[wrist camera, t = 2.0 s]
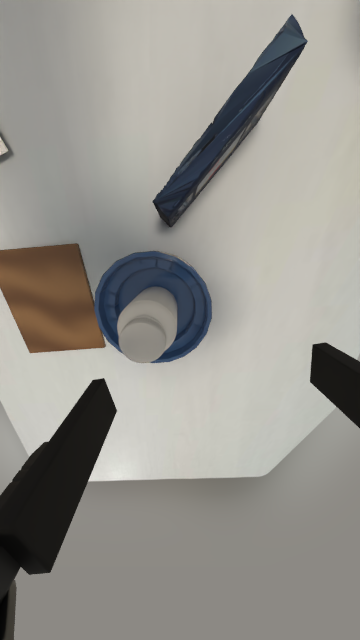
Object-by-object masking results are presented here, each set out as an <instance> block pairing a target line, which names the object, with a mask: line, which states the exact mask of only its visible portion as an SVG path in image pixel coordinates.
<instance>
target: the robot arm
mask: <svg viewBox="0 0 360 640" xmlns="http://www.w3.org/2000/svg"><path fill="white" fill-rule="evenodd" d="M310 382H311V383H312V384H313V385H314V386H315V387H316V388H317V389H318V390H319V391H320V392H321V393H323V394H324V395H325V396H326V397H327V398H328V399H329V400H330V401H331V402H332V403H333V404H334V405H335V406H336V407H338V408H339V409H340V410H341V411H342V412H343V413H344V414H345V415H346V416H347V417H348V418H349V419H350V420H351V421H353V422H354V423H355V424H356V425H357V426H358V427H359V428H360V362H359V361H358V360H356V359H354V358H352V357H351V356H349V355H347V354H345V353H343V352H342V351H340V350H338V349H336V348H335V347H333V346H331V345H329V344H328V343H320V344H313V347H312V361H311V375H310ZM116 412H117V410H116V407H115V405H114V402H113V400H112V397H111V394H110V392H109V389H108V387H107V384H106V382H105V379H104V378H103V379H97V380H93V381H92V382H91V383H90V385H89V386H88V388H87V389H86V390H85V392H84V393H83V395H82V396H81V397H80V399H79V400H78V402H77V403H76V404H75V406H74V407H73V409H72V410H71V411H70V413H69V414H68V416H67V417H66V418H65V420H64V421H63V423H62V424H61V425H60V427H59V428H58V429H57V431H56V432H55V434H54V435H53V436H52V438H51V439H50V441H49V442H44V443H43V444H42V445H41V446H40V447H39V448H38V449H37V450H36V451H35V452H34V453H32V455H31V456H30V457H29V459H28V460H27V461H26V462H25V464H24V465H23V466H22V469H21V470H20V471H19V472H18V473H17V474H16V476H15V477H14V478H13V481H12V482H11V483H10V484H9V485H8V486H7V488H6V489H5V490H4V492H3V493H2V494H1V495H0V640H14V624H15V606H16V605H15V604H16V583H15V580H14V578H15V576H16V575H17V573H18V571H19V569H20V567H22V568H23V569H24V570H25V571H26V572H27V573H28V574H29V575H31V574H41V573H50V572H51V570H52V567H53V565H54V562H55V560H56V557H57V555H58V553H59V550H60V548H61V545H62V543H63V540H64V538H65V536H66V533H67V531H68V528H69V526H70V523H71V521H72V518H73V516H74V514H75V511H76V509H77V506H78V504H79V502H80V499H81V497H82V494H83V492H84V489H85V487H86V485H87V482H88V480H89V477H90V475H91V473H92V470H93V468H94V465H95V463H96V460H97V458H98V456H99V453H100V451H101V448H102V446H103V443H104V441H105V439H106V436H107V434H108V431H109V429H110V427H111V424H112V422H113V419H114V417H115V414H116Z"/></svg>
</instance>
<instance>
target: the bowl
mask: <svg viewBox="0 0 360 640" xmlns="http://www.w3.org/2000/svg"><path fill="white" fill-rule="evenodd" d="M149 287H162V288H164V289H166V290H168V291H169V292H170V293H171V294H172V295H173V296H174V298H175V300H176V302H177V333H176V337H175V340H174V341H173V343H172V344H171V346H170V347H169V348H168V349H167V350H165V351H164V352H163V354H162V355H161V356H160V357H159V358H158V359H156V360H155V361H152V362H149V363H162V362H170V361H173V360H176V359H179V358H181V357H184V356H185V355H187V354H188V353H189V352H191V351H192V350H194V349H195V348H196V347H197V346H198V345H199V343H200V342H201V341H202V339H203V338H204V337H205V335H206V334H207V331H208V328H209V325H210V322H211V319H212V305H211V298H210V295H209V292H208V289H207V287H206V284H205V282H204V281H203V280H202V278H201V277H200V276H199V275H198V273H197V272H196V271H195V270H194V268H193V267H192V266H191V265H190V264H188V263H187V262H185V261H183V260H182V259H180V258H179V257H177V256H175V255H171V254H167V253H163V252H159V251H150V252H138V253H133V254H131V255H129V256H127V257H124V258H122V259H120V260H118V261H116V262H115V263H114V264H113V265H112V266H111V267H110V268H109V269H108V270H107V271H106V272H105V273H104V274H103V276H102V278H101V280H100V283H99V285H98V287H97V289H96V292H95V306H94V311H95V314H96V318H97V322H98V326H99V328H100V329H101V331H102V332H103V334H104V336H105V337H106V339H107V340H108V342H110V343H111V344H112V345H113V346H114V347H115V348H116V349H118V350H119V351H120V352H121V353H123V352H122V351H121V349H120V347H119V335H118V330H117V323H118V319H119V316H120V314H121V312H122V311H123V310H124V308H125V307H126V306H127V305H128V304H129V303H130V302H131V301H132V300H133V299H134V298H136V297H137V296H138V295H139V294H140V293H141V292H142V291H143V290H145V289H147V288H149Z"/></svg>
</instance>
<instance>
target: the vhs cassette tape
mask: <svg viewBox="0 0 360 640" xmlns="http://www.w3.org/2000/svg"><path fill="white" fill-rule="evenodd" d="M307 42H308V41H307V40H306V39H305V38H304V36H303V33H302V30H301V28H300V26H299V24H298V22H297V20H296V19H295V17H294V16H293V15H291V16H290V17H289V19H288V20H287V21H286V23H285V24H284V25H283V27H282V28H281V29H280V31H279V32H278V34H276V36H275V38H274V39H273V41H272V42H271V43H270V44H269V45H268V46H267V47H266V49H265V50H264V51H263V52H262V54H261V55H260V56H259V58H258V59H257V61H256V63H255V64H254V66H253V68H252V69H251V70H250V72H249V73H248V74H247V76H246V77H245V78H244V79H243V81H242V82H241V83H240V84H239V85H238V86H237V88H236V89H235V90H234V92H233V93H232V94H231V96H230V97H229V99H228V100H227V101H226V103H225V104H224V106H223V107H222V108H221V110H220V111H219V112H218V114H217V115H216V117H215V118H214V121H213V124H212V123H211V124H210V125H209V126H208V128H207V129H206V131H205V132H204V133H203V135H202V136H201V138H200V139H199V140H197V141H196V143H195V144H194V146H193V147H192V149H191V150H190V151H189V153H188V154H187V155H186V157H185V158H184V159H183V161H182V162H181V164H180V166H179V167H177V168H176V170H175V173H174V174H173V175H172V176H171V178H170V180H169V181H168V182H167V185H166V186H164V188H163V190H161V192H160V193H158V194H157V196H156V198H155V199H154V200H153V203H154V205H155V207H156V209H157V211H158V213H159V215H160V217H161V218H162V219H163V220H164V221H165V222H166V224H168V226H169V227H172V226H173V225H174V224H175V222H176V221H177V220H178V219H179V218H180V217H181V215H182V214H183V213H184V212H185V211H186V209H187V208H188V207H189V206H190V205H191V203H192V202H193V201H194V200H195V199H196V197H197V196H198V195H199V194H200V192H201V191H202V190H203V189H204V188H205V186H206V185H207V184H208V183H209V181H210V180H211V179H212V178H213V177H214V175H215V174H216V173H217V172H218V171H219V169H220V168H221V167H222V166H223V165H224V163H225V162H226V161H227V160H228V158H229V157H230V156H231V155H232V153H233V152H234V151H235V150H236V149H237V147H238V146H239V145H240V144H241V142H242V141H243V140H244V139H245V137H246V136H247V135H248V134H249V132H250V131H251V130H252V129H253V127H254V126H255V125H256V124H257V123H258V121H259V120H260V118H261V116H262V115H263V113H264V112H265V110H266V108H267V107H268V105H269V104H270V102H271V100H272V99H273V98H274V96H275V94H276V92H277V91H278V89H279V88H280V86H281V84H282V83H283V81H284V80H285V78H286V76H287V75H288V73H289V71H290V70H291V68H292V67H293V65H294V64H295V62H296V60H297V59H298V57H299V56H300V54H301V52H302V51H303V49H304V47H305V45H306V43H307Z"/></svg>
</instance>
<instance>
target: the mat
mask: <svg viewBox="0 0 360 640" xmlns="http://www.w3.org/2000/svg"><path fill="white" fill-rule="evenodd" d="M0 288H1V291H2V293H3V295H4V297H5V299H6V301H7V304H8V306H9V308H10V310H11V312H12V315H13V317H14V319H15V321H16V323H17V326H18V328H19V330H20V332H21V334H22V337H23V339H24V341H25V343H26V345H27V348H28V350H29V352H30V353H37V352H51V351H64V350H78V349H91V348H104V347H105V342H104V338H103V335H102V331H101V329H100V328H99V326H98V322H97V318H96V314H95V311H94V306H95V305H94V301H93V297H92V294H91V290H90V286H89V282H88V279H87V275H86V271H85V267H84V264H83V260H82V256H81V253H80V249H79V245H78V244H66V245H54V246H43V247H32V248H21V249H10V250H0Z"/></svg>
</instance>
